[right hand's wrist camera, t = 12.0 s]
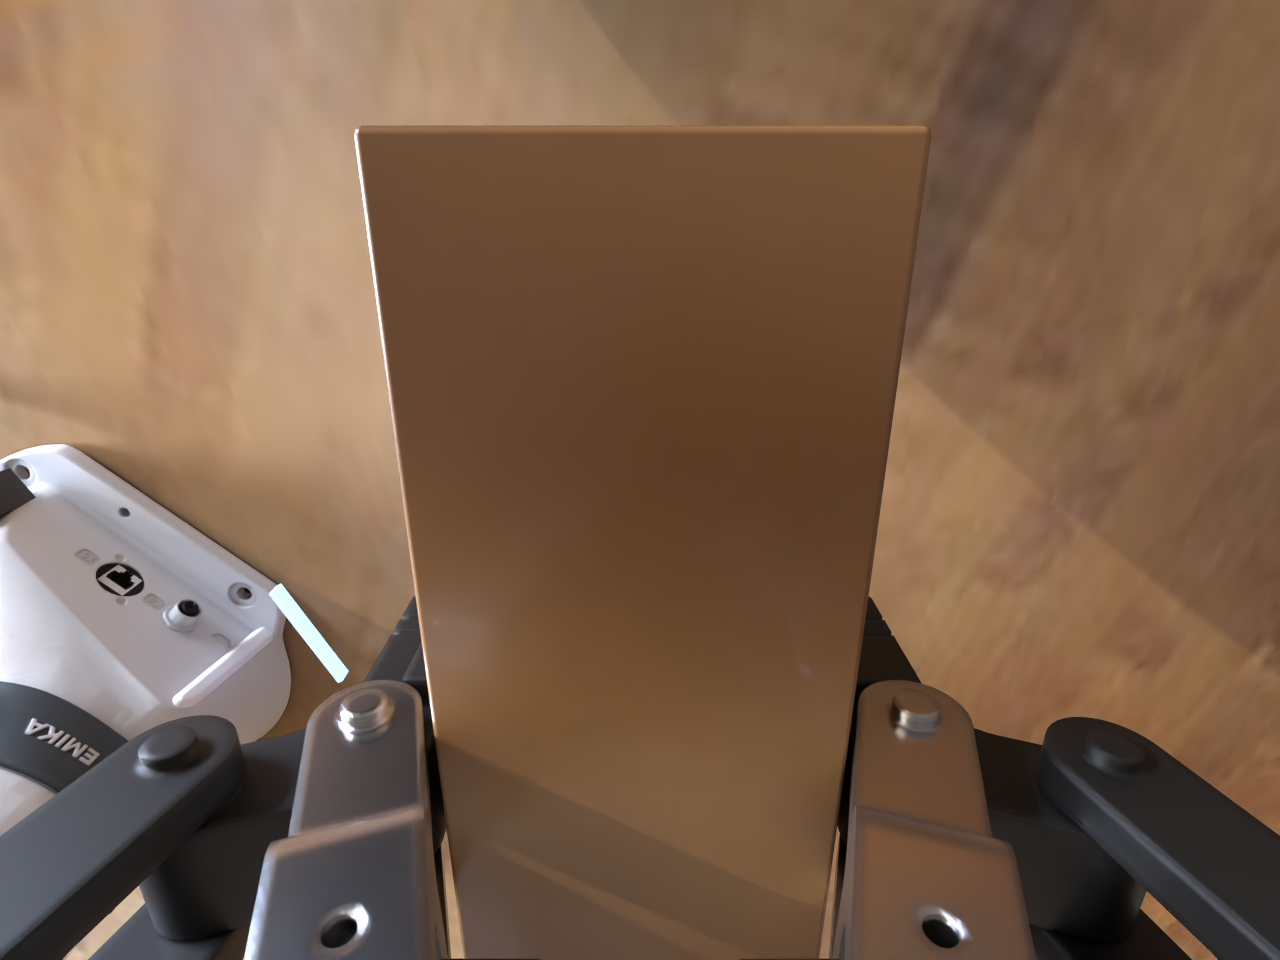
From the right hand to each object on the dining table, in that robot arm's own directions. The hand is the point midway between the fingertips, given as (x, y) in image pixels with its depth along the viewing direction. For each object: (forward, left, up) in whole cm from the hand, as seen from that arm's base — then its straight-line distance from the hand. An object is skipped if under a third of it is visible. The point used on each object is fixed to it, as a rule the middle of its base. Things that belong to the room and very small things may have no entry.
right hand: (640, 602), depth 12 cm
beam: (+30, 0, -4) cm, 31 cm away
